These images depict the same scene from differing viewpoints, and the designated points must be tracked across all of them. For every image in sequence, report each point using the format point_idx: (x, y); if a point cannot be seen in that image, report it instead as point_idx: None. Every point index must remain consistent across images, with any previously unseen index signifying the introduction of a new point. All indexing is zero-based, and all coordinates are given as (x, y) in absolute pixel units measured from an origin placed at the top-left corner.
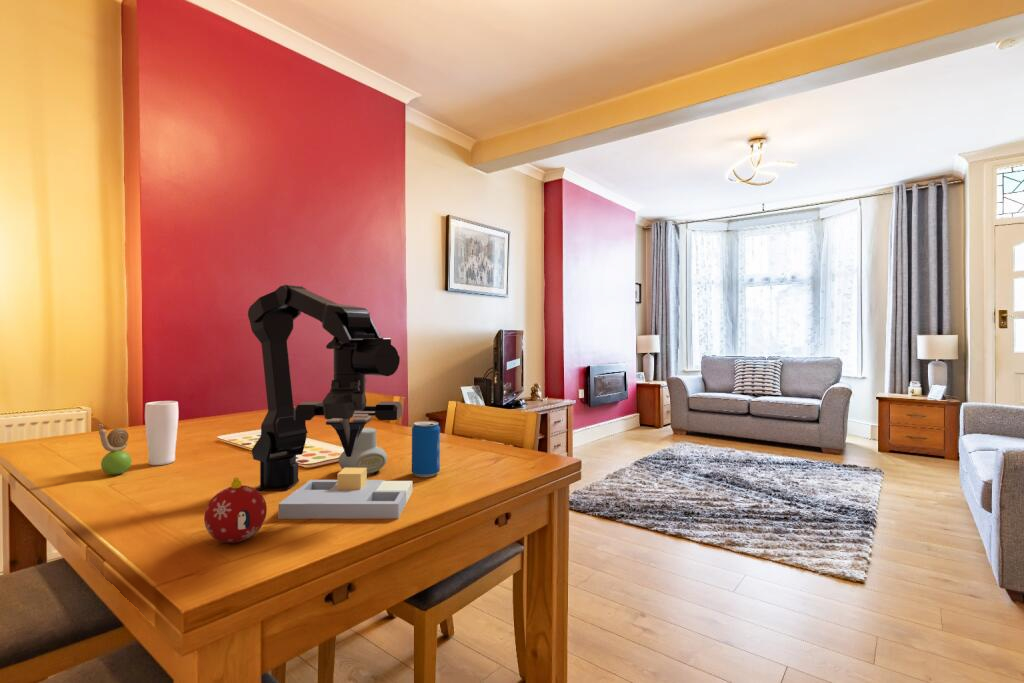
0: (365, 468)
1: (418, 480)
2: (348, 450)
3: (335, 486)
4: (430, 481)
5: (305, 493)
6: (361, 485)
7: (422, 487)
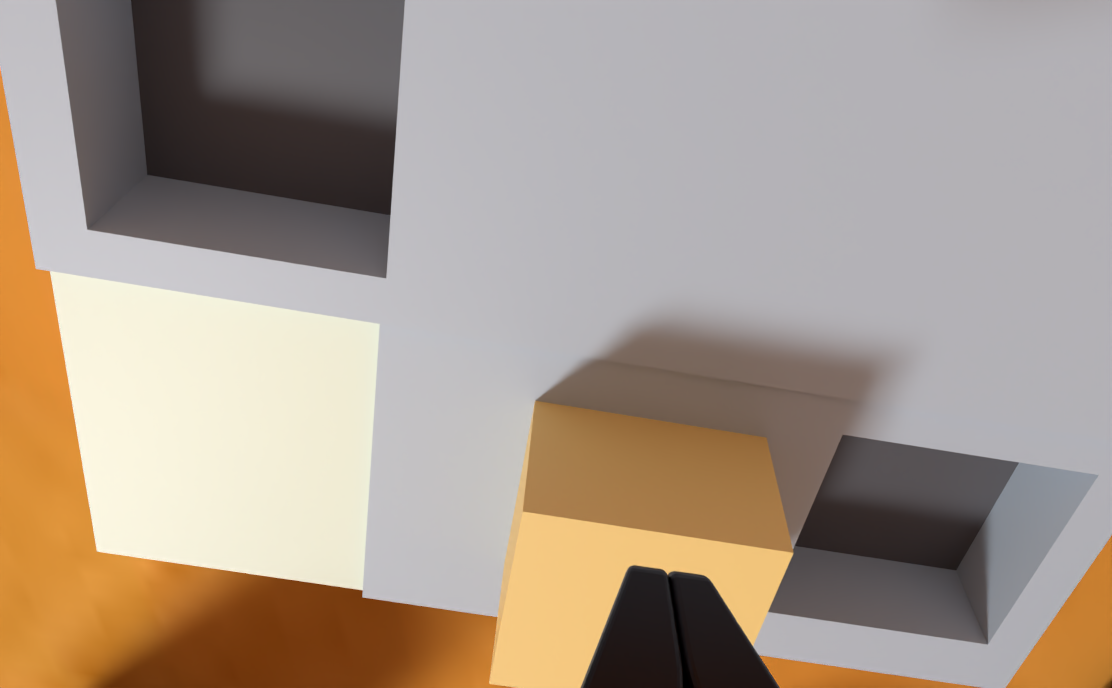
0: (499, 665)
1: (162, 680)
2: (678, 656)
3: (785, 510)
4: (63, 651)
5: (1096, 350)
6: (528, 443)
7: (85, 552)
